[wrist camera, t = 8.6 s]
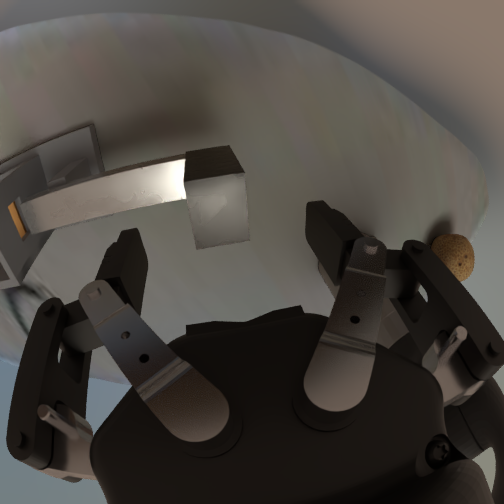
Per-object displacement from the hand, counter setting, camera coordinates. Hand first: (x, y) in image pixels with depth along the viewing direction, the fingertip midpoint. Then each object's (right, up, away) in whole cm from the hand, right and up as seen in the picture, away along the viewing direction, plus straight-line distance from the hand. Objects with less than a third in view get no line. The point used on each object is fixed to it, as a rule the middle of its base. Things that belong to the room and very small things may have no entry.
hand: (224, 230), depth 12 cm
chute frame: (-21, +7, +11) cm, 25 cm away
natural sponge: (+36, +1, +30) cm, 47 cm away
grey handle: (-9, +4, +6) cm, 12 cm away
